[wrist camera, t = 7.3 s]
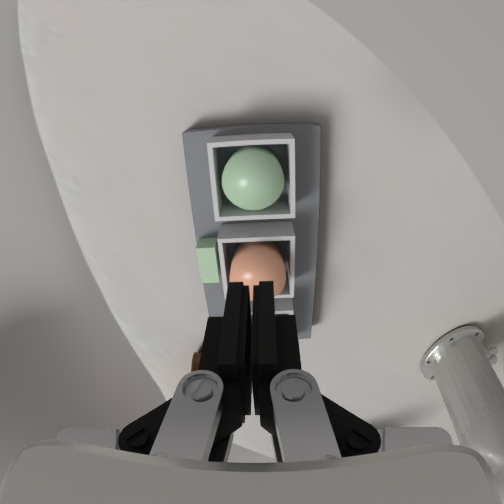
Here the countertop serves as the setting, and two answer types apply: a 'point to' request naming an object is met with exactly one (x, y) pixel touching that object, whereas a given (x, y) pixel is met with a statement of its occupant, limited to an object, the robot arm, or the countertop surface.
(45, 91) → the countertop surface
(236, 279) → the terracotta button
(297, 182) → the button panel
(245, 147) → the green button
